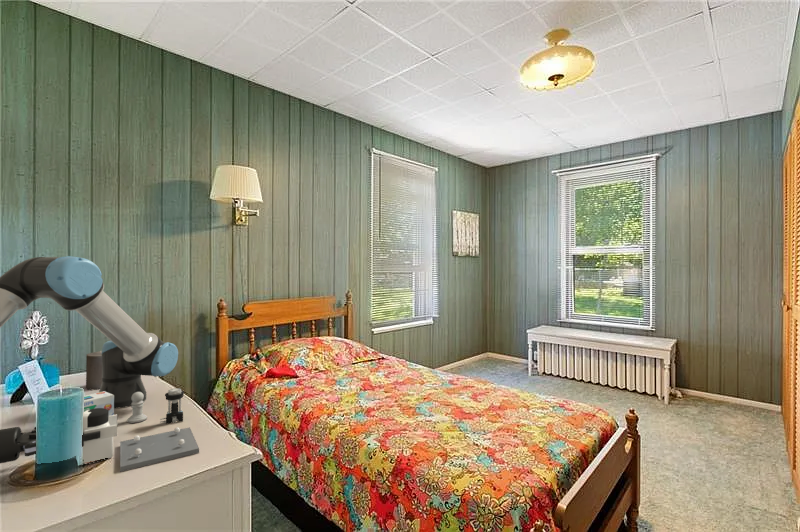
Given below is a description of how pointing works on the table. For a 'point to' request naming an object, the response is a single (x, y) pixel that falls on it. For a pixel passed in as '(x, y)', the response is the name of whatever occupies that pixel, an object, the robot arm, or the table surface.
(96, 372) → the pillar candle
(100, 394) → the light bulb box
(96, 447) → the medicine bottle
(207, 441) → the table surface
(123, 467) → the pin tray
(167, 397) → the push button
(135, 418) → the chess piece
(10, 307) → the robot arm
